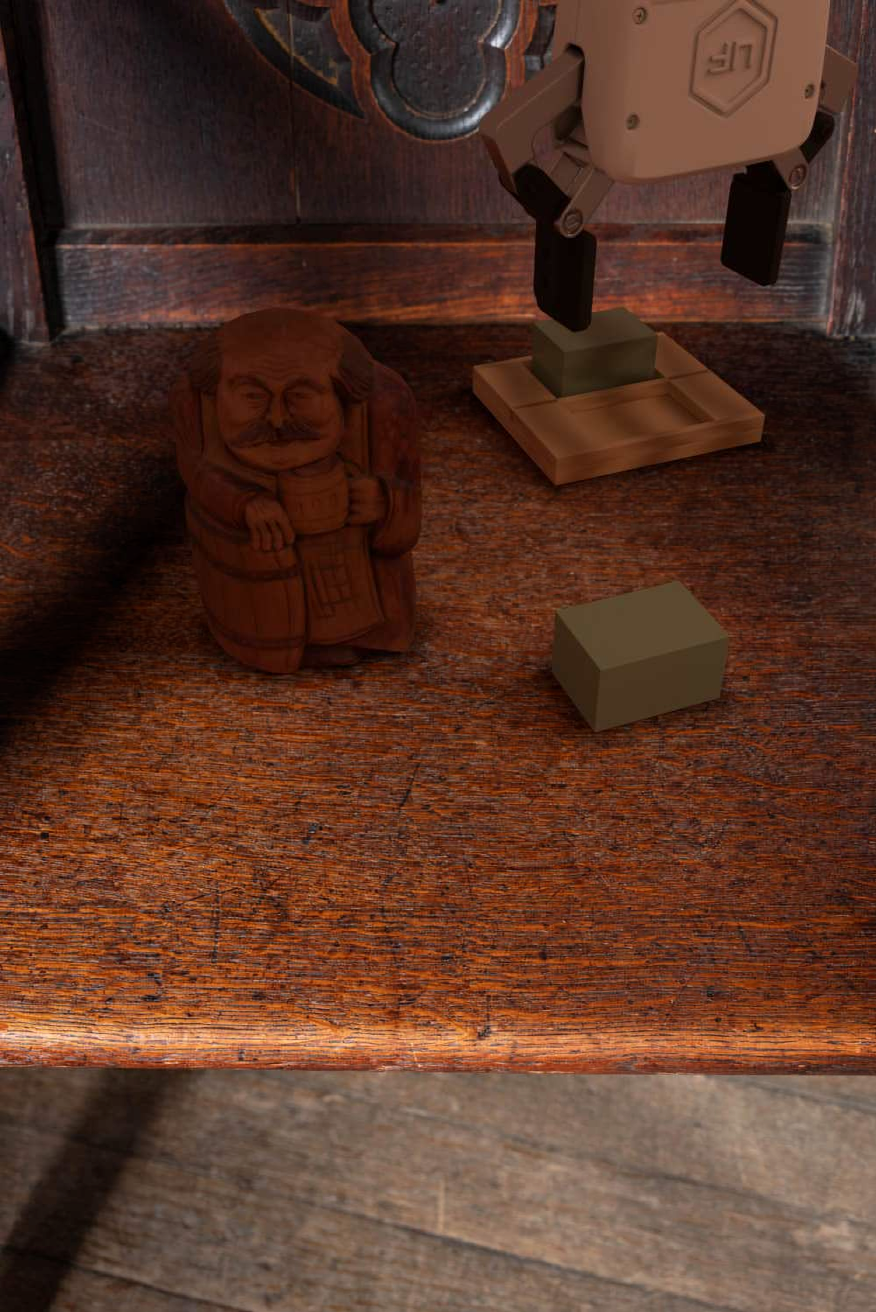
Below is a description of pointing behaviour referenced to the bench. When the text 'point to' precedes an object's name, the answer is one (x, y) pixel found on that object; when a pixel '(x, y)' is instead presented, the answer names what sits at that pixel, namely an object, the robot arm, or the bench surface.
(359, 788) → the bench surface
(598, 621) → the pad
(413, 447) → the wooden figurine
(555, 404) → the frame
